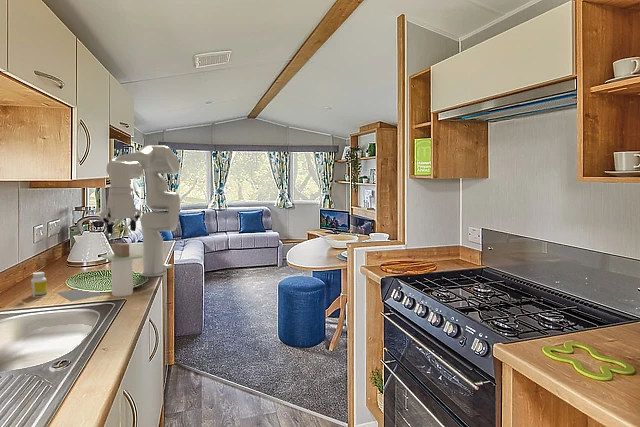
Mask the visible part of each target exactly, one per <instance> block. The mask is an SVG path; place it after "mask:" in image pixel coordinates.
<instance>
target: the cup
mask: <svg viewBox="0 0 640 427" xmlns="http://www.w3.org/2000/svg"><path fill="white" fill-rule="evenodd" d="M110 262H111V263H110V264H111V265H110V268H111V271H110V272H111V293H112V294H111V295H112V296H114V297H125V296H130V295H132V294H134V282H133V281H134V278H133V274H134V273H133V271H134V269H133V259H130V260H123V261H116V262H113V261H111V260H110Z"/></svg>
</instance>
